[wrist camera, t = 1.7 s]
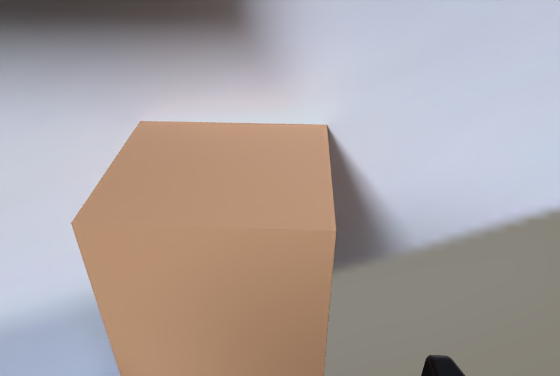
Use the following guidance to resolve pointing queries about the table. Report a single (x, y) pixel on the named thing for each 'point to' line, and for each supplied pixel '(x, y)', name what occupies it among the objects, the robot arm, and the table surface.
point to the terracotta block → (214, 249)
